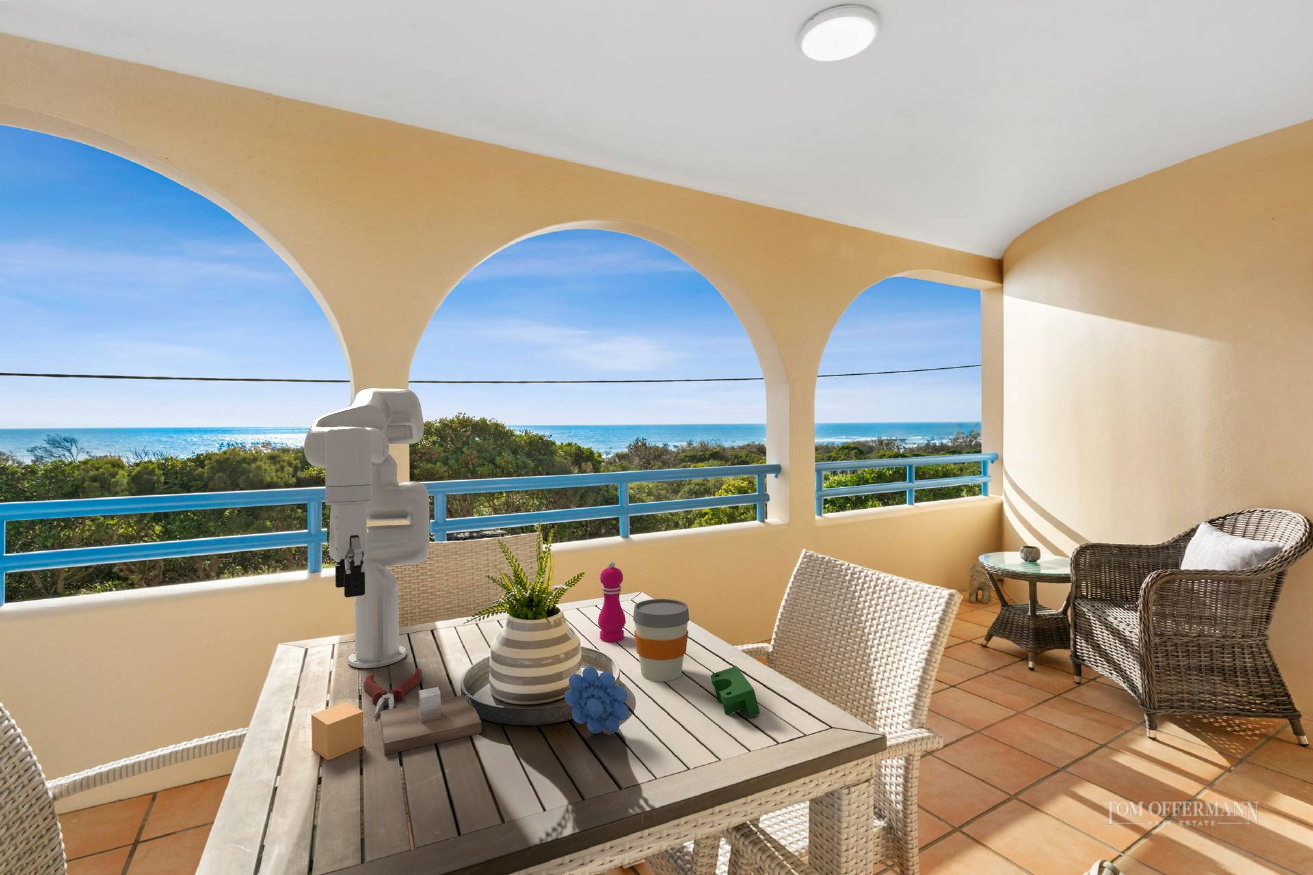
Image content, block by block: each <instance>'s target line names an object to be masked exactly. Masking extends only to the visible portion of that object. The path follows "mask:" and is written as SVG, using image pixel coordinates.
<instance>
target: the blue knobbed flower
mask: <svg viewBox="0 0 1313 875" xmlns="http://www.w3.org/2000/svg"><path fill="white" fill-rule="evenodd" d="M581 674H582V675H581ZM581 674H579V673H574V674H572V675H569V678H568V686H569V687H570V689H568V690H567V691H565V693H564V701H565V702H566V704H567V705H568V706H569V707H571V708H572V710H571V716H572V719H573V720H574V721H575V723H577V724H579V725H580V724H581V725H583V724H585V723H586V726H587V729H588V731H589V732H590V733H593V734H594V735H595V734H597V735H598V734H600V733H602V732H603V729H605V730H606V731H607V732H609V733H616V732H617V731H618V730H619V728H620V721H625V720H627V719H628V717H629V715H630V711H629V707H628V706H627V704H625V702H626V701H627V699H628V691H627V690H626V688H624V686H622V685H618V684H617V685H616V677H615V676H614V674H613V673H612V672H610V671H606V670H605V671H602V672H600V673H599V671H598V670H597V669H596V668H594V667H593V666H587V667H585V668H583V669H582V672H581Z"/></svg>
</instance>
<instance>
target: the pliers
mask: <svg viewBox="0 0 1313 875" xmlns="http://www.w3.org/2000/svg"><path fill="white" fill-rule="evenodd" d="M422 675H423V671H422V669H421V668H419V667H416V668H415V671H414V674H412V676H410V677H409V678H408V679H405V680H404V681H403V682H401V683H400V684H398V685H396V686H395V687H392V688H391V689H390V690H389V691H387V690H386V689H384V688H383V687H381V686H379V685H378V684H377V683H375V682H374V681H375V680H374V677H375V676H374V673H373V672H371V673H369V674H367V676H366V677H365V679H364V682H363V688H364V691H365V692H366V693H367V694H368V693H369V695H370V696H371V697H372V698H371V701H372V702H371V703H372V705H376V707H375V712H374V714H373V715H374V716H373V717H374V719H376V718H377V717H378V715H380V711H384V710H385V708H384V706H385V707H386V706H388V710H390V709H395V702H396V701H400V702H401V701H403V700H404V698H405V697H404V696H405V695H406V694H407V693H408V692H410V691H411V690H412V689H414V688H416V687H417V686H419V684H421V681H422V680H423V678H422V677H423V676H422ZM373 680H374V681H373ZM388 692H389V693H388Z"/></svg>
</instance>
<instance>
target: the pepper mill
mask: <svg viewBox="0 0 1313 875" xmlns="http://www.w3.org/2000/svg"><path fill="white" fill-rule="evenodd" d="M607 566H608V567H606V568H603V570H602V571H601V573H600V575H599V580H600V583H601V584H602V586H601V589H602V590H601V592H602V593H603V603H602V607H601V610H600V612H599V614H598V617H597V624H598V627H599V628H600V629H601V630H600V631H599V639H600V640H601V641H603V642H605V643H606V642H607V643H616V642H620V641H622V640H624V638H625V631H624V629H623V628H624V627H625V626H626V624H627V623H626V622H627V621H626V620H627V619H626V615H625V611H624V610H623V607H622V605H621V601H620V593H621V592H622V585H621V584H622V583H623V580H624V575H623V572H622V570H621V569H620V568H618V567H616V565H615V562H614V561H609V562H608V564H607Z"/></svg>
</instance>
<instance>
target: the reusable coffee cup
mask: <svg viewBox="0 0 1313 875" xmlns="http://www.w3.org/2000/svg"><path fill="white" fill-rule="evenodd" d="M689 612H690V611H689V605H688V604H687V603H686V602H683V601H681V600H677V599H672V598H652V599H647V600H642V601H639V602H637V603H635V604H634V607H633V616H632V617H633V619H632V620H633V623H634V626H635V629H634V632H633V634H634V639H635V640H634V641H635V649H636V653H637V654H638V657H639V666H640V672H641V676H642V677H643V678H644V679H646V680H648V681H652V682H660V683H661V682H662V683H663V682H671V681H675V680H677V679H679V678H680V677H681V676H682V673H683V663H684V658H685V657H684V655H685V654H686V652H687V646H688V640H689V639H688V638H689V637H688V636H689V630H688V623H689V621H690V613H689Z"/></svg>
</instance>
